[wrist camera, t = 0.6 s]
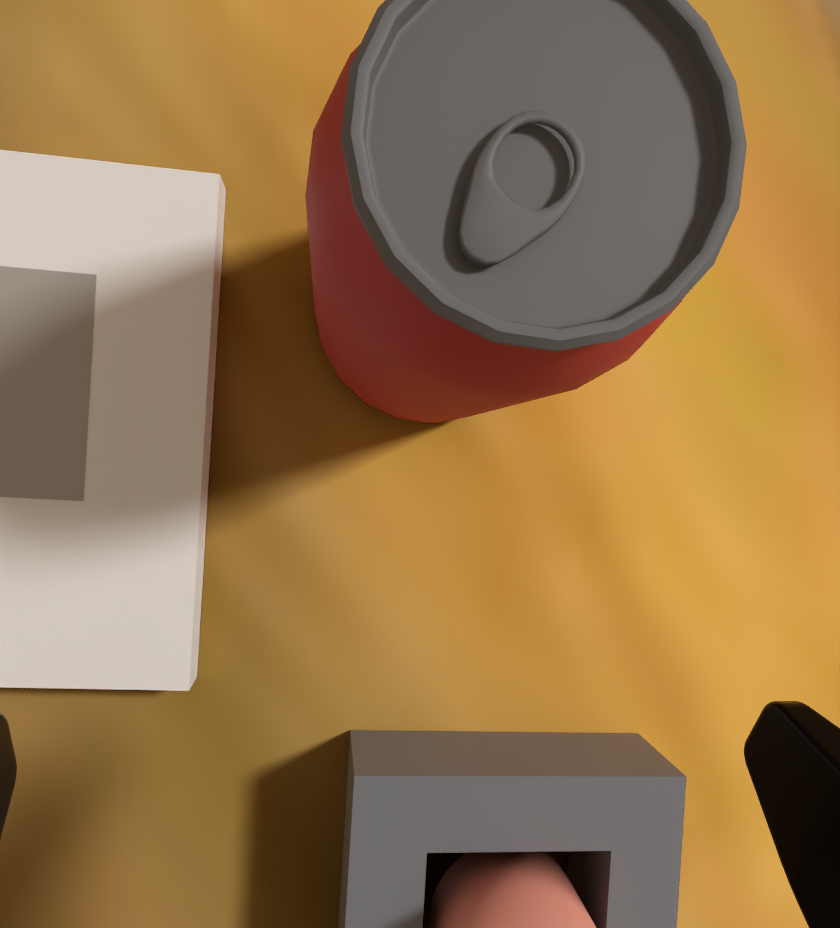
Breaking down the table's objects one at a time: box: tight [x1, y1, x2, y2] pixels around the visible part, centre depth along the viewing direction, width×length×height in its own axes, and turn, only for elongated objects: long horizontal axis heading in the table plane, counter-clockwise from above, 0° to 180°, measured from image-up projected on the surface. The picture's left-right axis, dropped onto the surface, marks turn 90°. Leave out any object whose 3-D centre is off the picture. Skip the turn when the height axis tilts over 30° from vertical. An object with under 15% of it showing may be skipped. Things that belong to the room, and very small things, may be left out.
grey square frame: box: [338, 730, 686, 928], centre depth 20 cm, size 9×9×3 cm
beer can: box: [306, 0, 747, 423], centre depth 15 cm, size 7×7×12 cm
